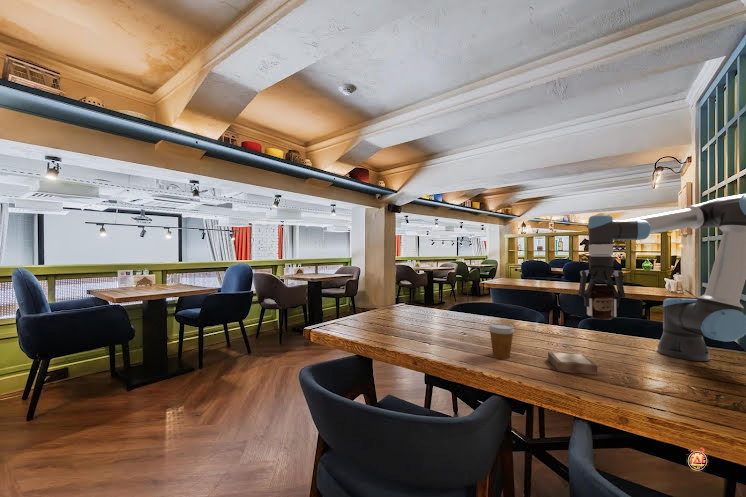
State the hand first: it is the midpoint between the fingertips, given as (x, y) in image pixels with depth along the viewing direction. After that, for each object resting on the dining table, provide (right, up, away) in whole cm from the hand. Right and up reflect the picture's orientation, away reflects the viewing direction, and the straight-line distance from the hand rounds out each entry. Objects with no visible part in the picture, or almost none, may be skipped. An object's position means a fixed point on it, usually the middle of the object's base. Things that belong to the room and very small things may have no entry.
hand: (601, 315), depth 121 cm
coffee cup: (0, -1, 0) cm, 1 cm away
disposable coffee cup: (-36, -18, +6) cm, 41 cm away
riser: (-15, -18, -6) cm, 24 cm away
